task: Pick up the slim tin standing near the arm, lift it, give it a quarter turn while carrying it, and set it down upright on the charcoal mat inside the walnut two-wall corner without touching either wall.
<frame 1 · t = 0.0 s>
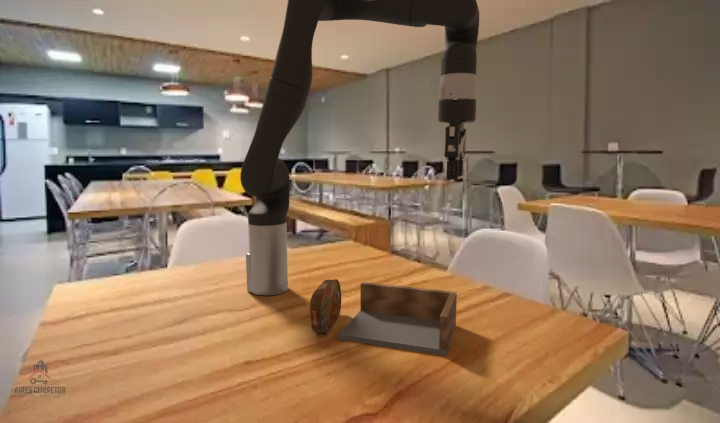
hand: (454, 178, 93), 29 cm above the table, tool pointing down, fingers open, 8 cm apart
tin: (326, 325, 90), on the table
walls: (399, 312, 86), on the mat, point 4 cm above the table
mat: (399, 332, 86), on the table
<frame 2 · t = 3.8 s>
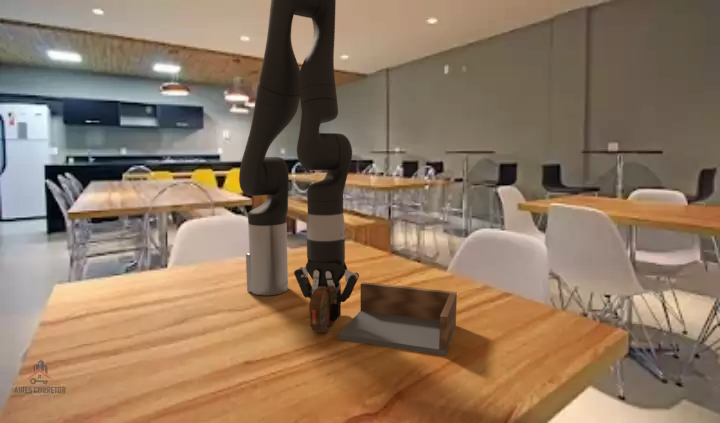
hand: (326, 318, 90), 1 cm above the table, tool pointing down, fingers closed on tin, 3 cm apart
tin: (325, 324, 90), on the table, touching gripper
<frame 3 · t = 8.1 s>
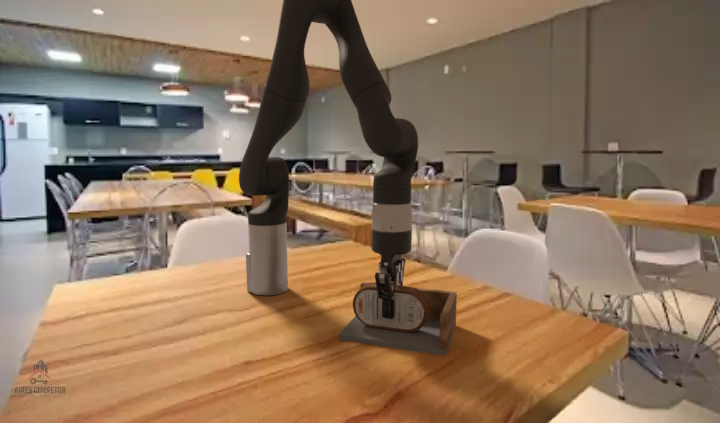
hand: (390, 314, 85), 4 cm above the table, tool pointing down, fingers closed on tin, 2 cm apart
tin: (389, 329, 85), point 1 cm above the table, touching gripper, mat
when the fingers open (4 cm above the table, at t = 8.1 s): tin stays where it is, resting on mat.
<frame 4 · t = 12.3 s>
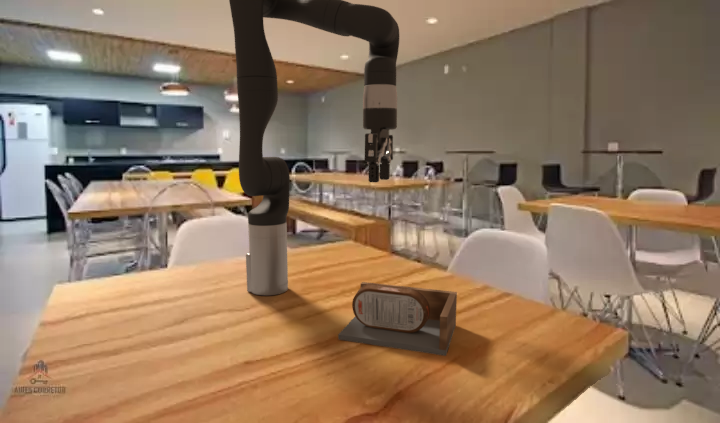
hand: (379, 180, 100), 28 cm above the table, tool pointing down, fingers open, 8 cm apart
tin: (389, 329, 85), point 1 cm above the table, touching mat
at the end: tin inside the target area (0.4 cm from its centre), point 0.8 cm above the table; tin tilted 0°; tin touching mat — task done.
